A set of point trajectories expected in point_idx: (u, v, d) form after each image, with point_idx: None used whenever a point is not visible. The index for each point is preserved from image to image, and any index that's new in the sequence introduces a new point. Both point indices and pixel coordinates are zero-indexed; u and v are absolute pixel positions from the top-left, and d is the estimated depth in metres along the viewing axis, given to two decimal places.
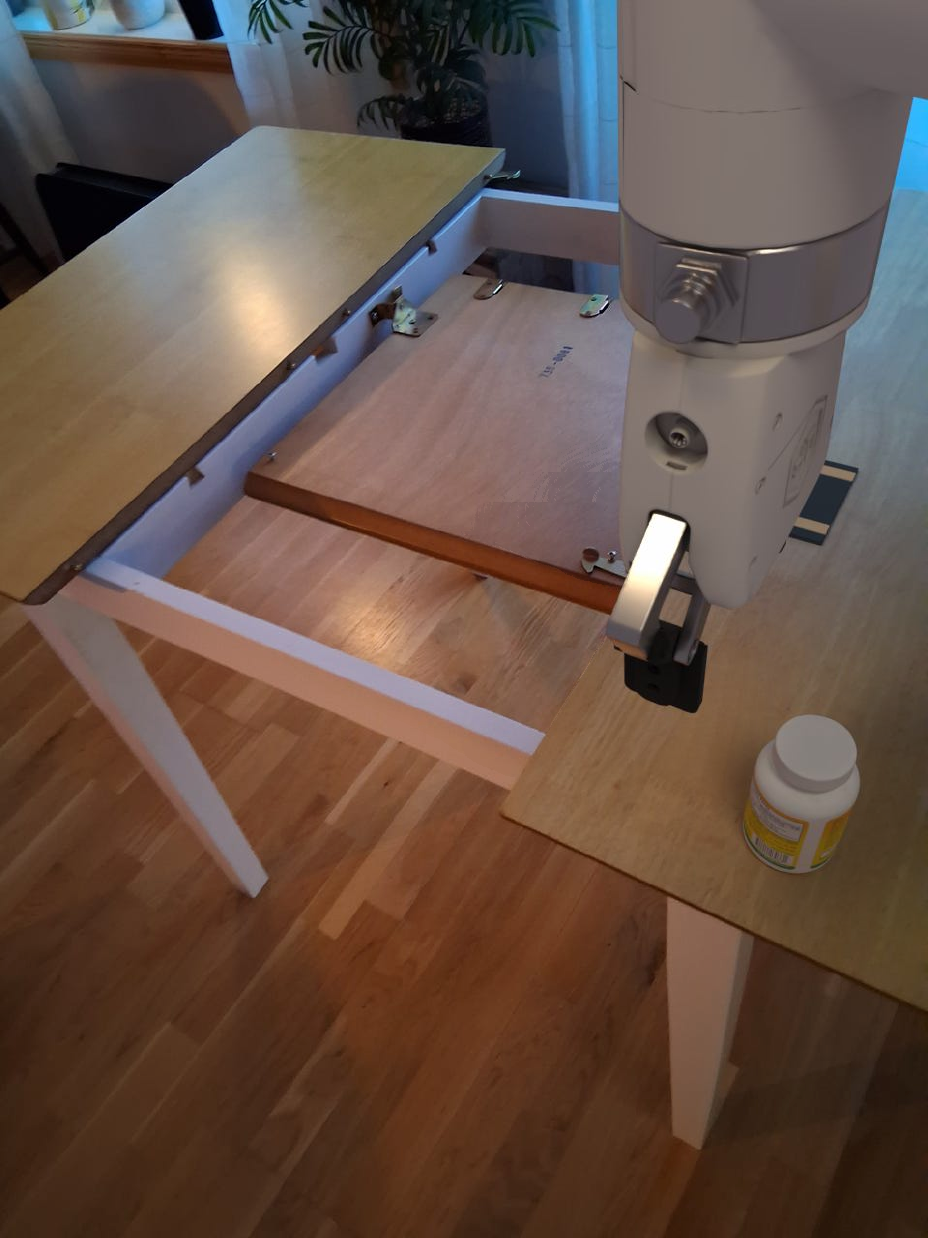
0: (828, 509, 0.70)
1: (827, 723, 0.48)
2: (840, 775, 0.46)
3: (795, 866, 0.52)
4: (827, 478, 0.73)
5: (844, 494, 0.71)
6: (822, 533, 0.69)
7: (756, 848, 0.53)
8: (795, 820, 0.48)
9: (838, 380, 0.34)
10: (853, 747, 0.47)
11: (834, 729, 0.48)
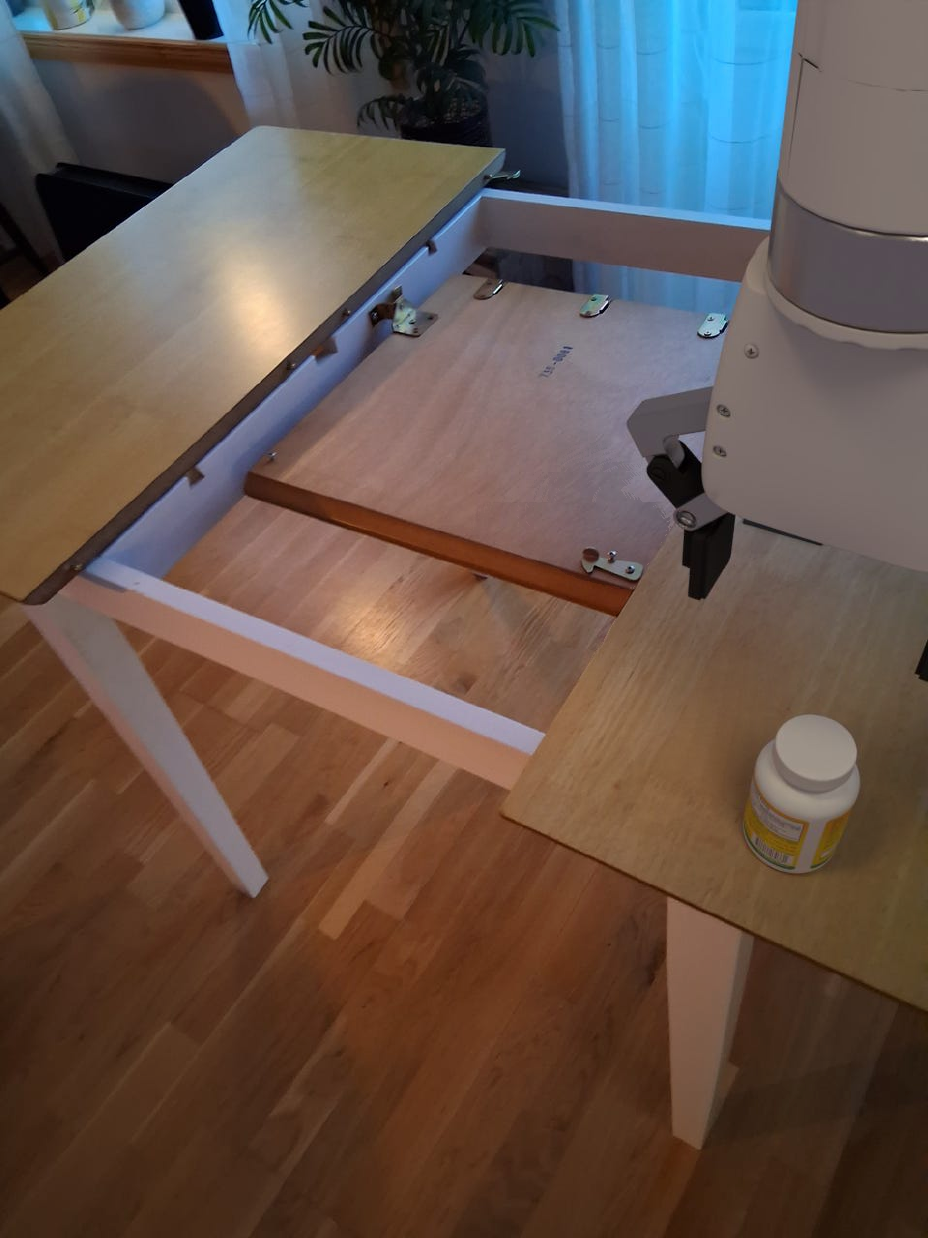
0: None
1: (827, 723, 0.48)
2: (840, 775, 0.46)
3: (795, 866, 0.52)
4: None
5: None
6: None
7: (756, 848, 0.53)
8: (795, 820, 0.48)
9: None
10: (853, 747, 0.47)
11: (834, 729, 0.48)
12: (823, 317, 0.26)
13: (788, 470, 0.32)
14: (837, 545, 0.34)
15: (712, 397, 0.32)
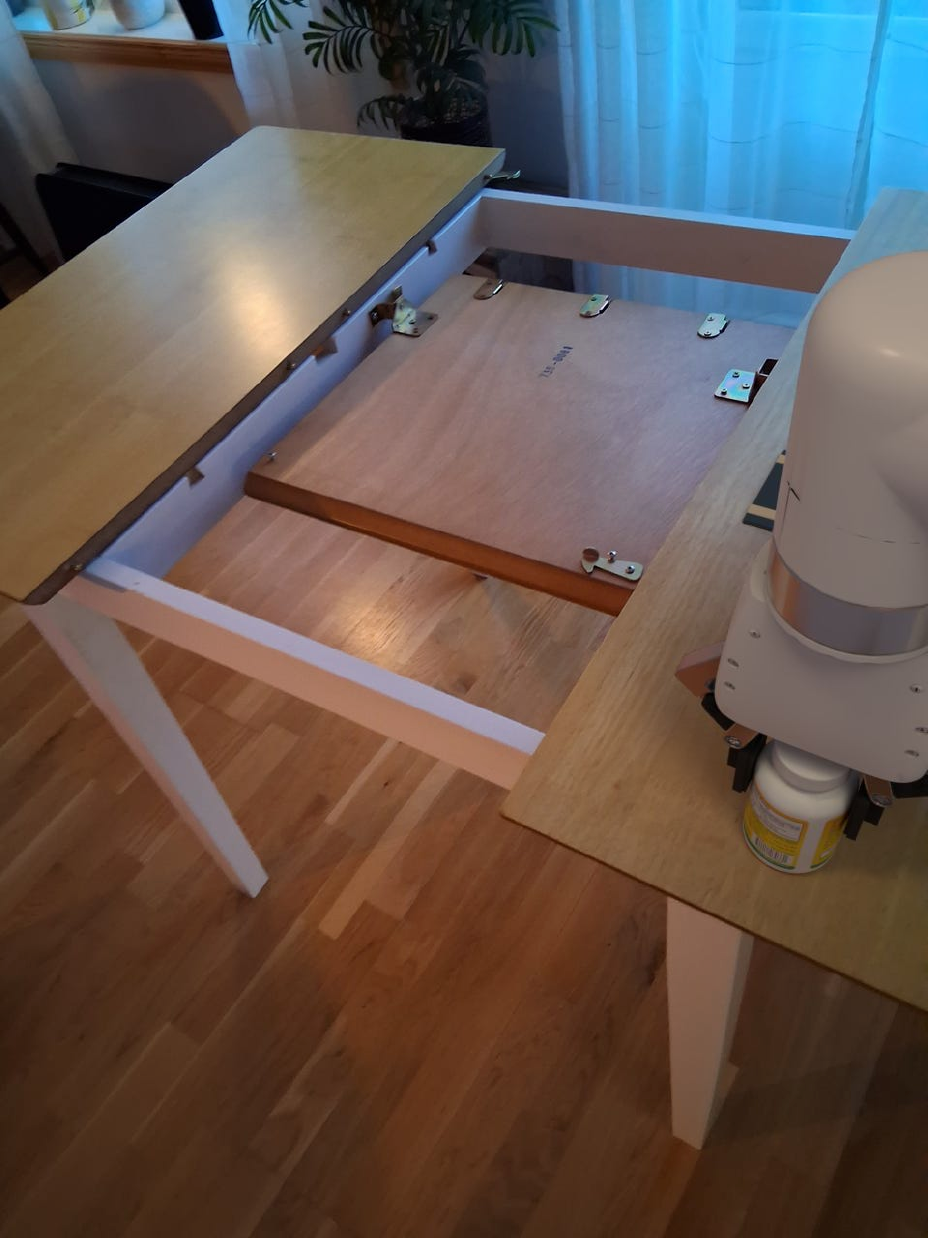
0: None
1: None
2: (840, 774, 0.46)
3: (795, 866, 0.52)
4: None
5: None
6: None
7: (756, 848, 0.53)
8: (795, 820, 0.48)
9: None
10: None
11: None
12: (808, 637, 0.36)
13: (782, 707, 0.42)
14: (820, 755, 0.44)
15: (724, 651, 0.43)
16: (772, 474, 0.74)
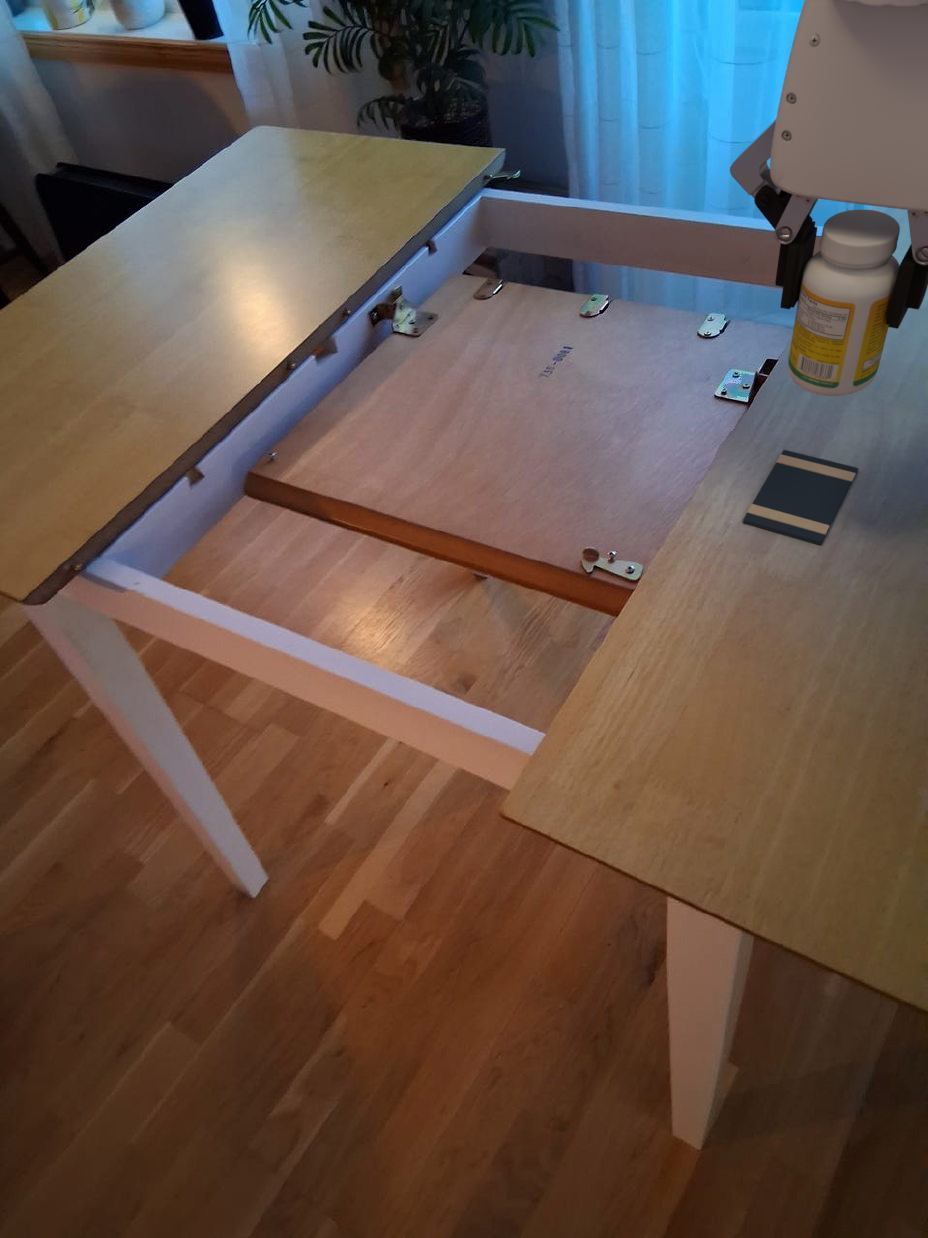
0: (828, 509, 0.70)
1: (871, 212, 0.52)
2: (885, 240, 0.50)
3: (839, 380, 0.55)
4: (827, 478, 0.73)
5: (844, 494, 0.71)
6: (822, 533, 0.69)
7: (801, 374, 0.57)
8: (842, 304, 0.52)
9: None
10: (896, 224, 0.51)
11: (877, 215, 0.51)
12: None
13: (837, 137, 0.46)
14: (870, 200, 0.48)
15: (783, 89, 0.46)
16: (772, 474, 0.74)
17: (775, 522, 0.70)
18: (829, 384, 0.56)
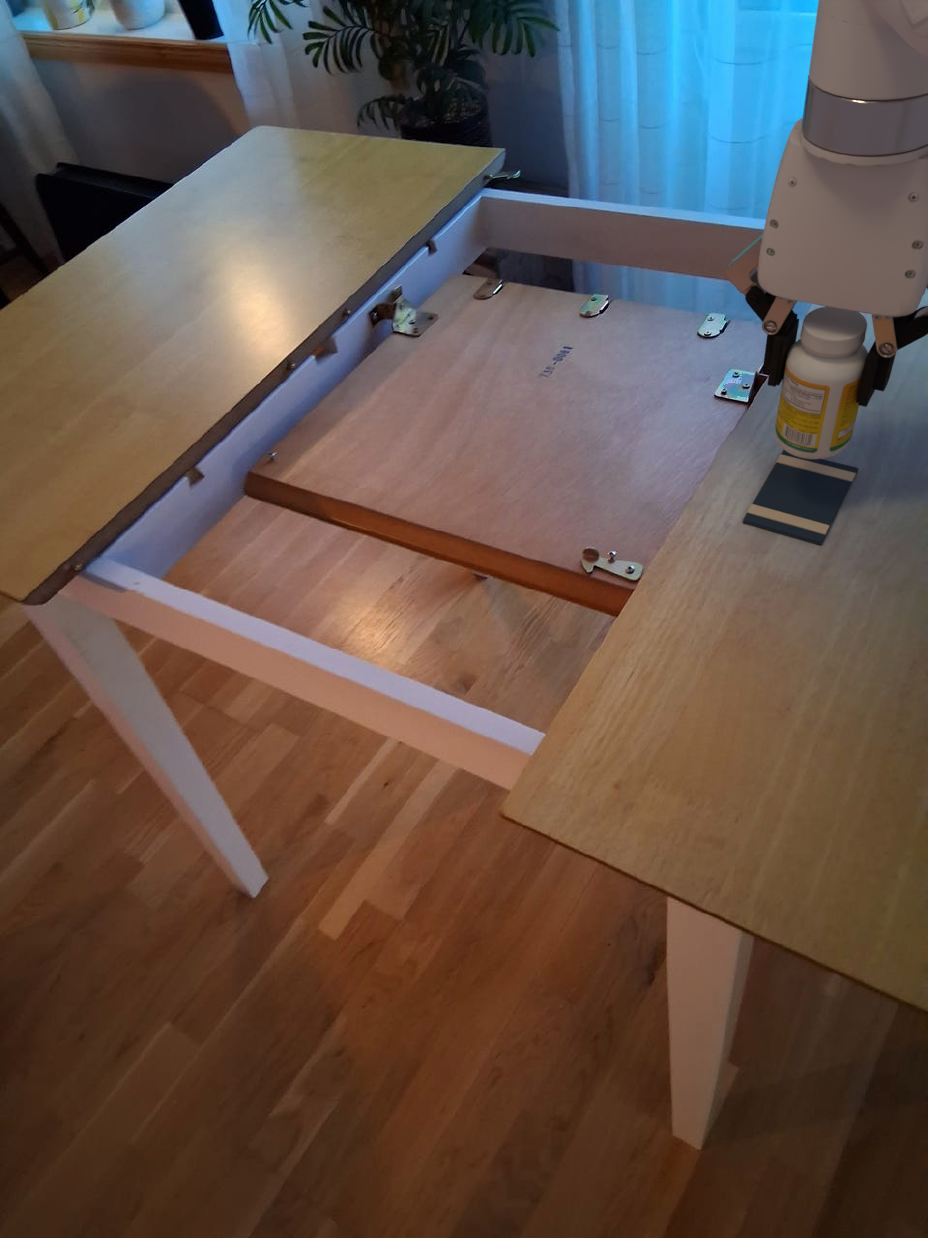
0: (828, 509, 0.70)
1: (843, 309, 0.61)
2: (854, 336, 0.59)
3: (817, 446, 0.65)
4: (827, 478, 0.73)
5: (844, 494, 0.71)
6: (822, 533, 0.69)
7: (786, 440, 0.66)
8: (818, 386, 0.61)
9: None
10: (864, 320, 0.60)
11: (849, 312, 0.61)
12: (834, 151, 0.50)
13: (812, 256, 0.56)
14: (840, 306, 0.57)
15: (767, 216, 0.56)
16: (772, 474, 0.74)
17: (775, 522, 0.70)
18: (809, 449, 0.65)
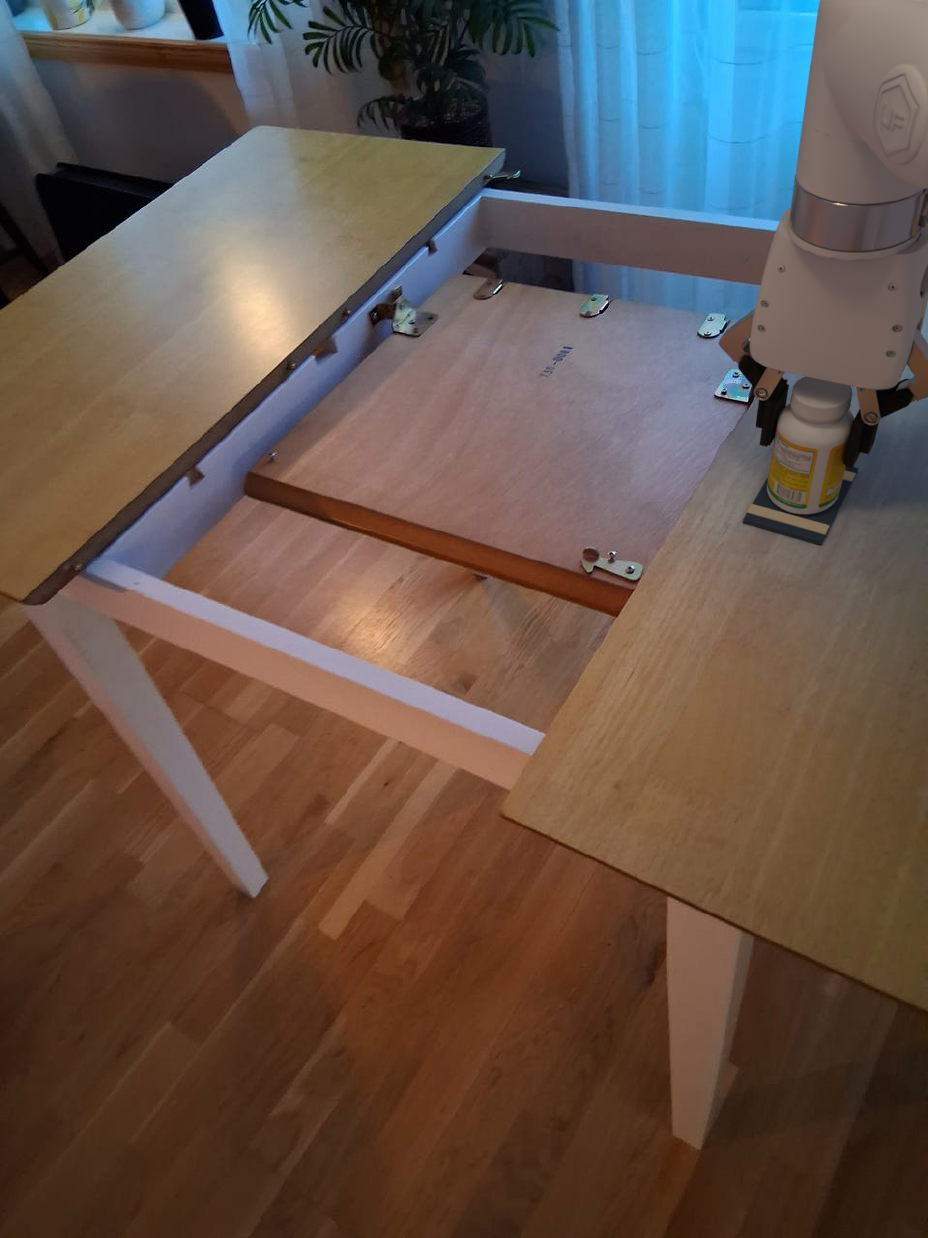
0: (828, 509, 0.70)
1: None
2: (840, 404, 0.63)
3: (807, 503, 0.69)
4: None
5: (844, 494, 0.71)
6: (822, 533, 0.69)
7: (777, 496, 0.70)
8: (807, 449, 0.65)
9: None
10: (849, 388, 0.64)
11: None
12: (819, 245, 0.54)
13: (799, 334, 0.60)
14: (826, 378, 0.61)
15: (758, 296, 0.60)
16: None
17: (775, 522, 0.70)
18: (799, 506, 0.69)
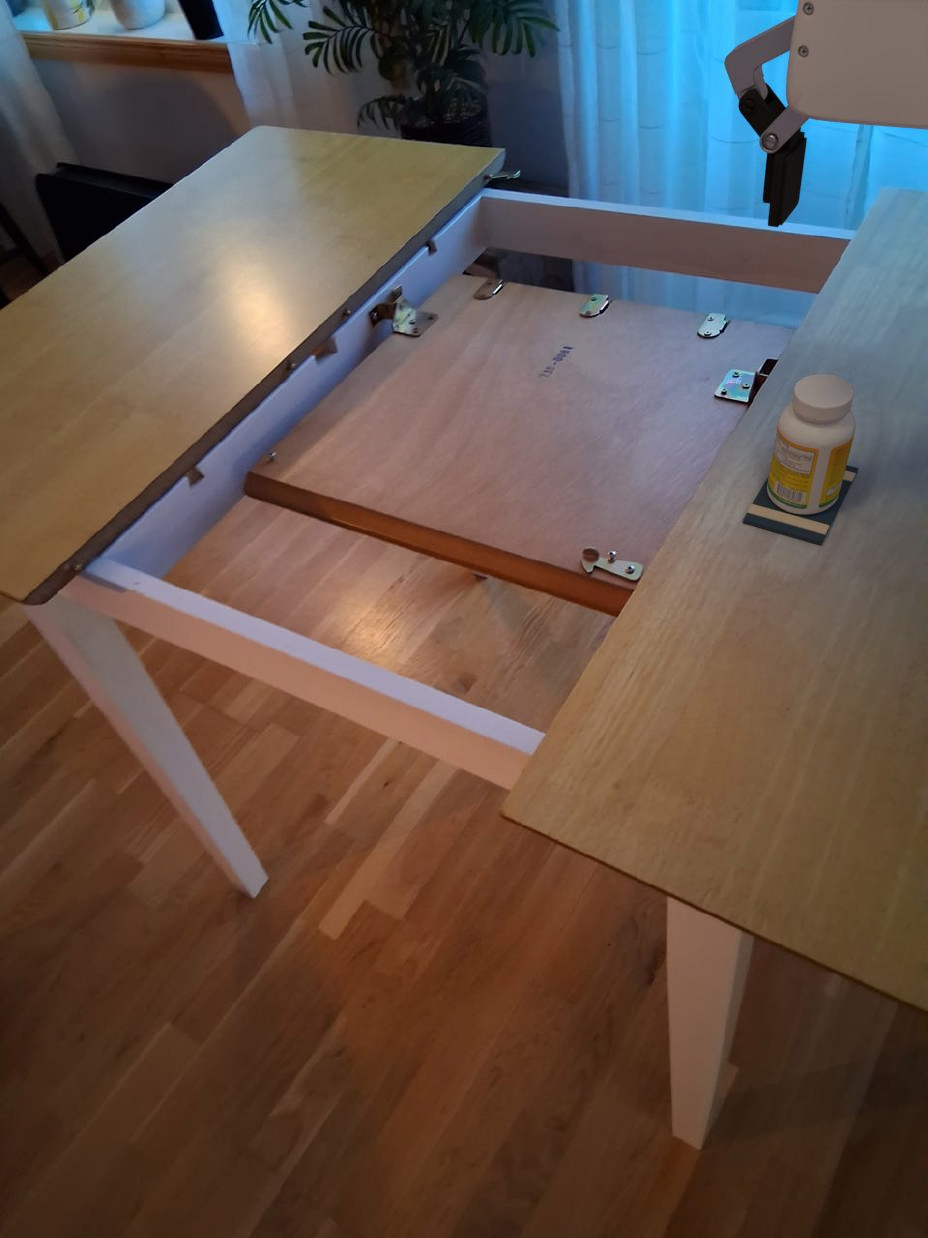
0: (828, 509, 0.70)
1: (832, 377, 0.65)
2: (842, 404, 0.63)
3: (807, 503, 0.69)
4: None
5: (844, 494, 0.71)
6: (822, 533, 0.69)
7: (777, 496, 0.70)
8: (808, 449, 0.65)
9: None
10: (851, 389, 0.64)
11: (836, 380, 0.65)
12: None
13: (857, 50, 0.43)
14: (893, 120, 0.45)
15: None
16: None
17: (775, 522, 0.70)
18: (799, 506, 0.69)
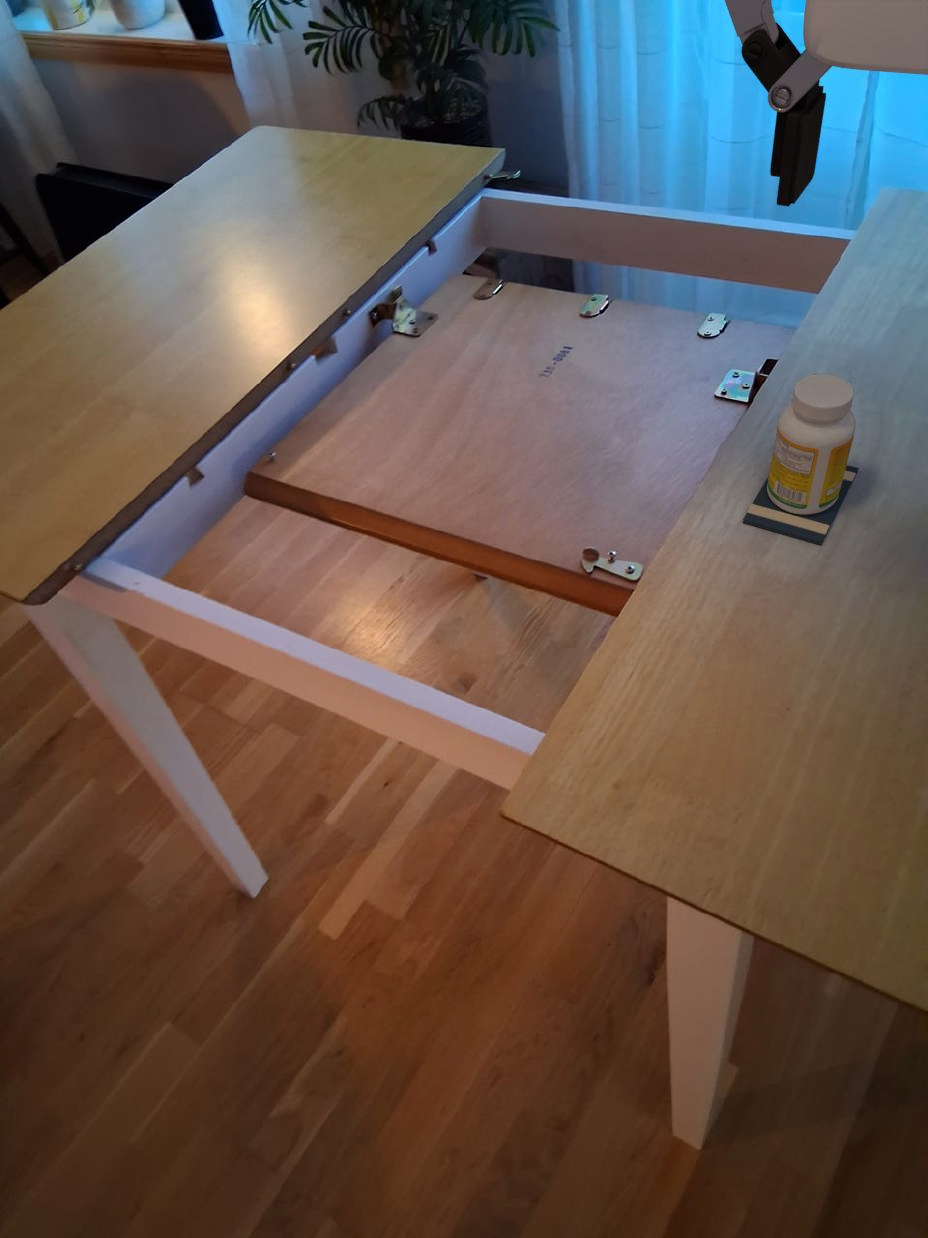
0: (828, 509, 0.70)
1: (832, 377, 0.65)
2: (842, 404, 0.63)
3: (807, 503, 0.69)
4: None
5: (844, 494, 0.71)
6: (822, 533, 0.69)
7: (777, 496, 0.70)
8: (808, 449, 0.65)
9: None
10: (851, 389, 0.64)
11: (836, 380, 0.65)
12: None
13: None
14: None
15: None
16: None
17: (775, 522, 0.70)
18: (799, 506, 0.69)
